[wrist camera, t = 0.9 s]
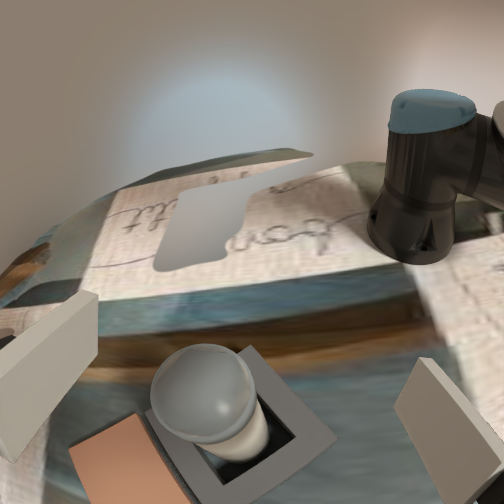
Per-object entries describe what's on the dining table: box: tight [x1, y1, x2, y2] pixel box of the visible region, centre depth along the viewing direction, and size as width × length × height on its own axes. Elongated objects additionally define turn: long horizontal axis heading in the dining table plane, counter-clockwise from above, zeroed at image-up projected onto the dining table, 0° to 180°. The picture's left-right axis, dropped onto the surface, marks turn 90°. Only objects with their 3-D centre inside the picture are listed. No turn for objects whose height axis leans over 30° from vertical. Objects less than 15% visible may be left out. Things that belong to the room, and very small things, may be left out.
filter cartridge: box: [150, 344, 270, 464], centre depth 23 cm, size 7×7×15 cm
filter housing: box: [144, 345, 338, 504], centre depth 27 cm, size 14×14×3 cm
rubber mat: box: [68, 413, 194, 504], centre depth 24 cm, size 11×13×1 cm
